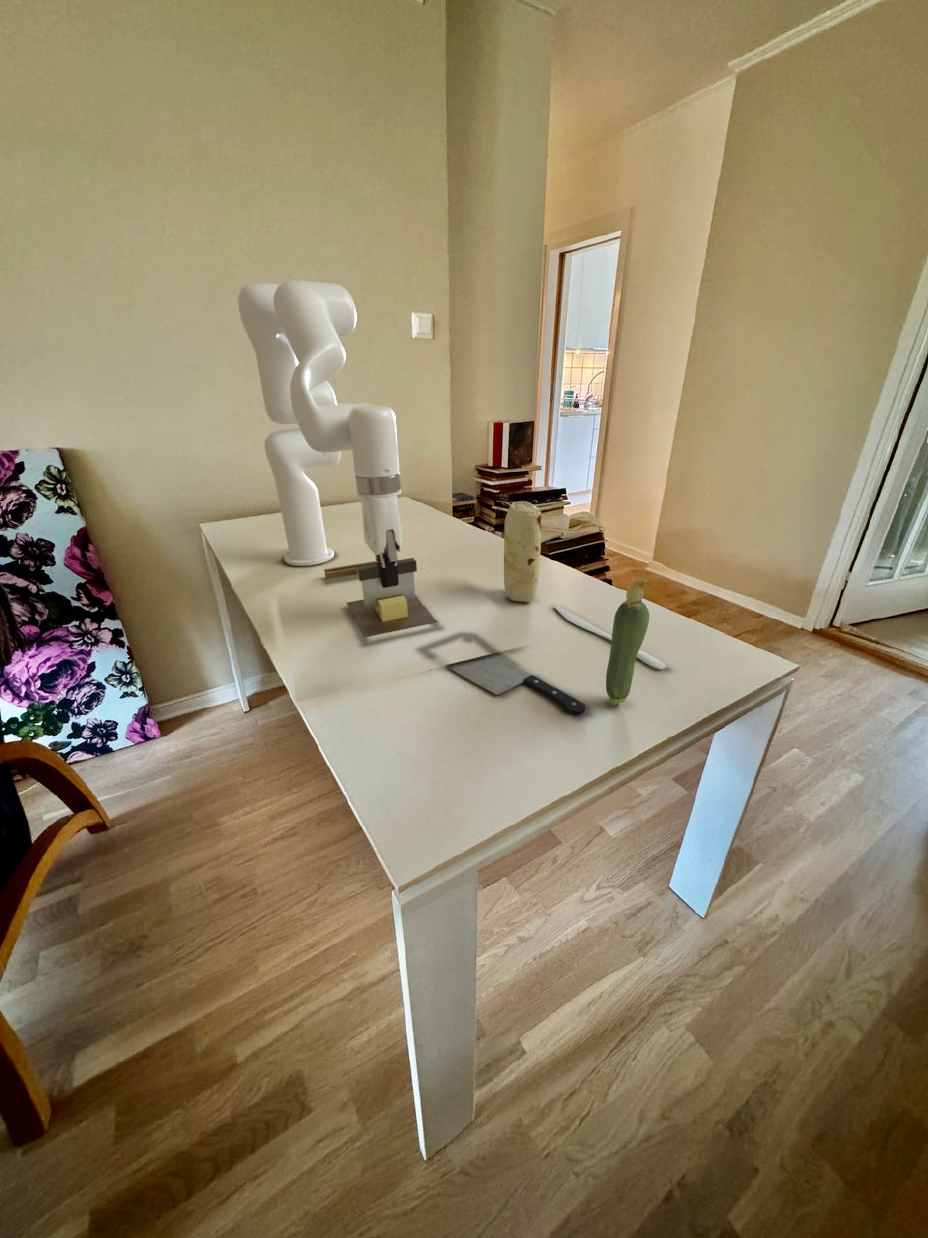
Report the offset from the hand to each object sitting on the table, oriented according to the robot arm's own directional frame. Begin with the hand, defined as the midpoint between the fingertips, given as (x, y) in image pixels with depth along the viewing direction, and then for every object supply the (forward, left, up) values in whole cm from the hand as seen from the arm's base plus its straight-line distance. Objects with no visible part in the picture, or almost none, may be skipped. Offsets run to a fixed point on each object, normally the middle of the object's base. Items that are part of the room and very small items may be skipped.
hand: (388, 583), depth 91 cm
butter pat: (+2, 0, -6) cm, 7 cm away
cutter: (0, 0, -4) cm, 4 cm away
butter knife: (+23, +33, -8) cm, 41 cm away
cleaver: (+26, +10, -8) cm, 29 cm away
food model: (+1, +28, -8) cm, 29 cm away
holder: (-26, -2, -8) cm, 27 cm away
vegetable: (+39, +23, -8) cm, 46 cm away
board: (-1, 0, -8) cm, 8 cm away
